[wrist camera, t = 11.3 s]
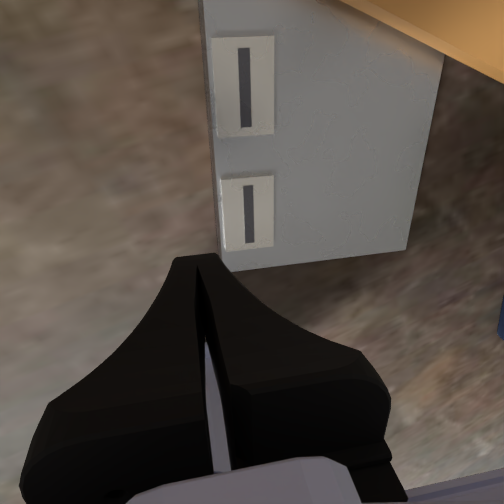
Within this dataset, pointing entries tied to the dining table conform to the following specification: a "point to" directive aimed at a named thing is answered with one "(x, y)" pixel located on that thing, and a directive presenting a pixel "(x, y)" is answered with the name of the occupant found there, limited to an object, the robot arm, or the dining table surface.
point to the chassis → (312, 129)
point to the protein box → (501, 322)
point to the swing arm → (449, 28)
